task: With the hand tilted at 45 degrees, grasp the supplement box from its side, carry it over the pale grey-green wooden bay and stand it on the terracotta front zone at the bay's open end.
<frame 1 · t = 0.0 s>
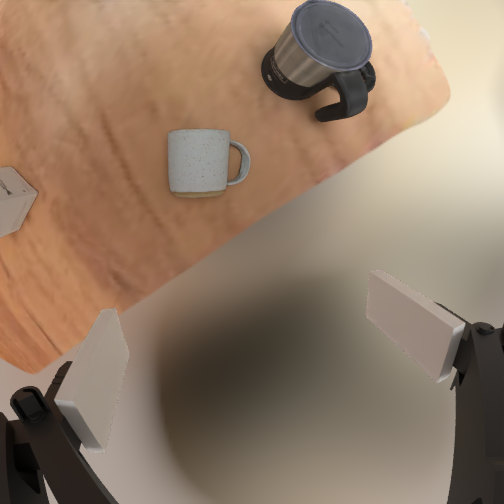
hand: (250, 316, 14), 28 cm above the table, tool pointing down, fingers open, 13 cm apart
milk frother: (316, 71, 37), on the table
ceramic mug: (208, 160, 39), on the table
supplement box: (16, 197, 34), on the table
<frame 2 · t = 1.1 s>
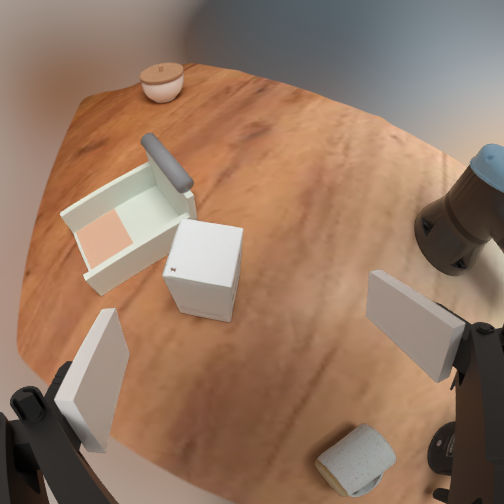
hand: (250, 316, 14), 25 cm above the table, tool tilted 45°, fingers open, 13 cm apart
milk frother: (458, 458, 29), on the table
ceramic mug: (350, 462, 31), on the table
lidded jar: (164, 97, 65), on the table
bay: (131, 233, 45), on the table
supplement box: (210, 294, 41), on the table
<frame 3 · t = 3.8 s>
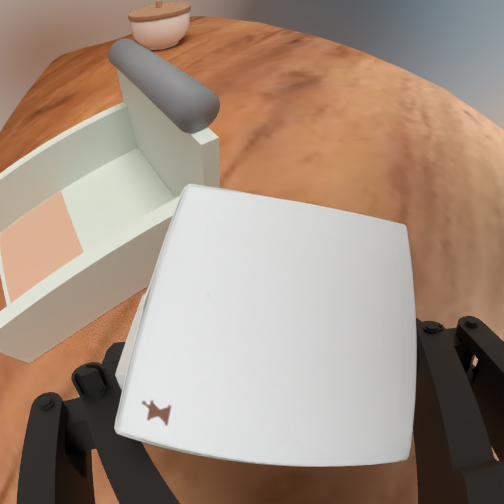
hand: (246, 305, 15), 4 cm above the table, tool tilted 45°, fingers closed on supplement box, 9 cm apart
lidded jar: (161, 45, 41), on the table
bay: (85, 236, 22), on the table
supplement box: (251, 373, 18), on the table, touching gripper
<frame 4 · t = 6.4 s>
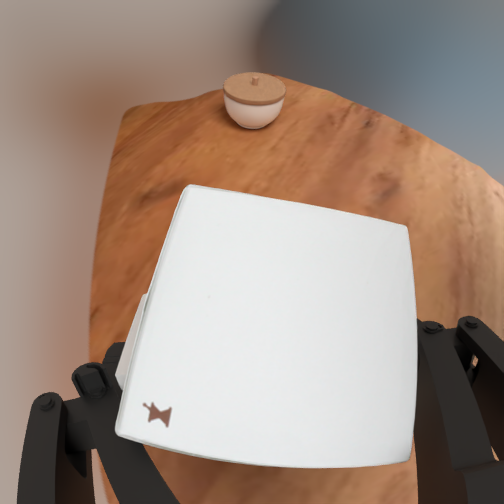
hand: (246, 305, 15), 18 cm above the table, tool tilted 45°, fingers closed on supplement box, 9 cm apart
lidded jar: (251, 120, 52), on the table
supplement box: (252, 374, 18), point 14 cm above the table, touching gripper
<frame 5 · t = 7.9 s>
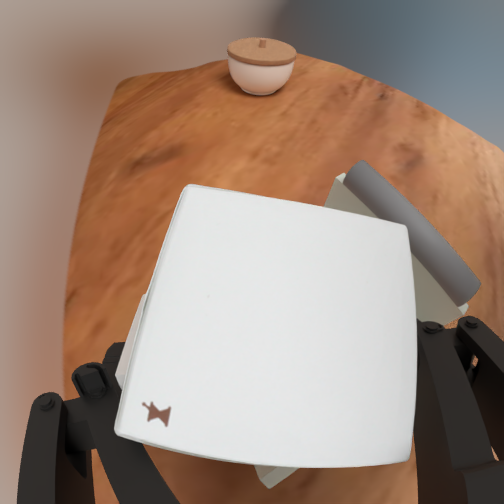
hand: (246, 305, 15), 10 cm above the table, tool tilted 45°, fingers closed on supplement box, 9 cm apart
lidded jar: (258, 87, 44), on the table
bay: (293, 347, 25), on the table
supplement box: (251, 373, 18), point 6 cm above the table, touching gripper
when the fingers open (6 cm above the table, at t = 9.2 s): supplement box stays where it is, resting on bay.
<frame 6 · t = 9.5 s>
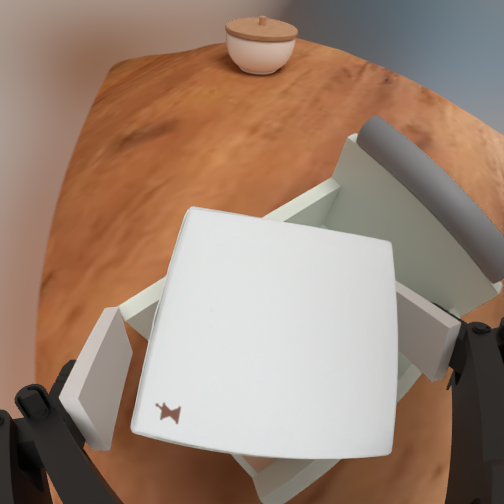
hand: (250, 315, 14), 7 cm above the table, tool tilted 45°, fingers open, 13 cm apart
lidded jar: (257, 68, 41), on the table
bay: (298, 338, 21), on the table
supplement box: (251, 376, 19), point 1 cm above the table, touching bay
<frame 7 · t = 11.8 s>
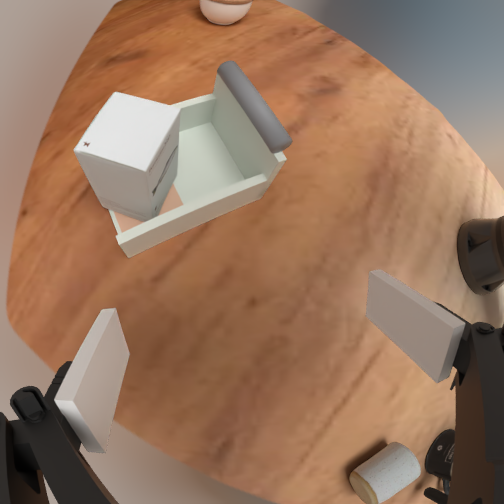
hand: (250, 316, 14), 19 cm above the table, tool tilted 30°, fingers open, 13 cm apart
milk frother: (444, 461, 35), on the table
ceramic mug: (372, 471, 32), on the table
lidded jar: (221, 19, 47), on the table
bay: (173, 178, 36), on the table
supplement box: (140, 191, 34), point 1 cm above the table, touching bay
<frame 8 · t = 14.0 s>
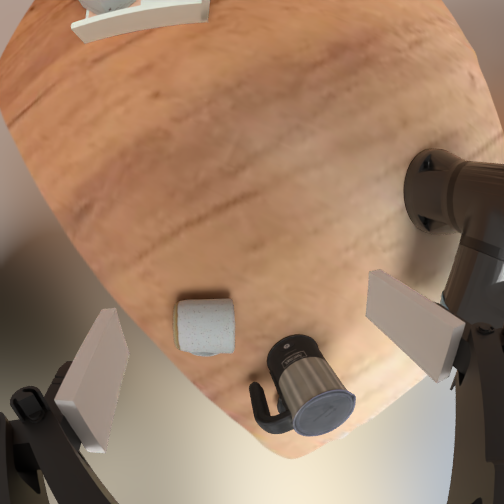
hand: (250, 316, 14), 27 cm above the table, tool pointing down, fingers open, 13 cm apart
milk frother: (294, 372, 49), on the table
ceramic mug: (205, 320, 44), on the table
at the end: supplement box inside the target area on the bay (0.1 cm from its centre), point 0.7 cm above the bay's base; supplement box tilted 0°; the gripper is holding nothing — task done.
